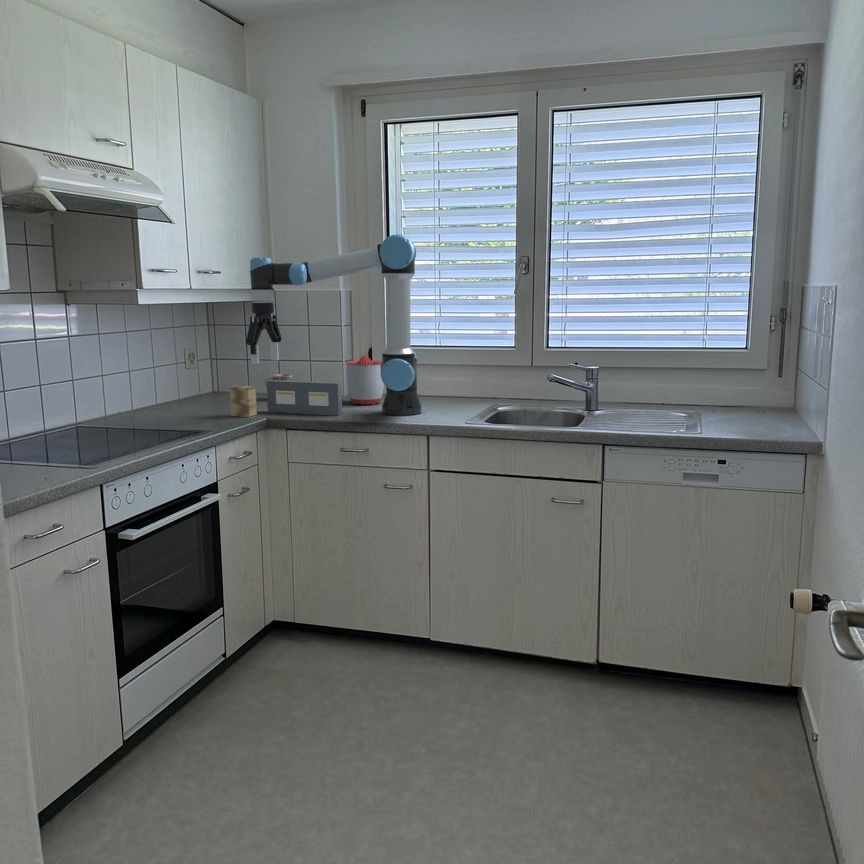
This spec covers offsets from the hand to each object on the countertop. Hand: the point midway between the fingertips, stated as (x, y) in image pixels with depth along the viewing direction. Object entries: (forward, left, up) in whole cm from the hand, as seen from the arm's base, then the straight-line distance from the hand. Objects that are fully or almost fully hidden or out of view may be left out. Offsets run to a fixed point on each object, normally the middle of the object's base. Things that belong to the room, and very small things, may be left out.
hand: (265, 362), depth 281 cm
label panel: (-7, -15, -21) cm, 26 cm away
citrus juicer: (-20, -45, -21) cm, 53 cm away
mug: (+20, -43, -21) cm, 52 cm away
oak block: (+12, -3, -21) cm, 24 cm away
